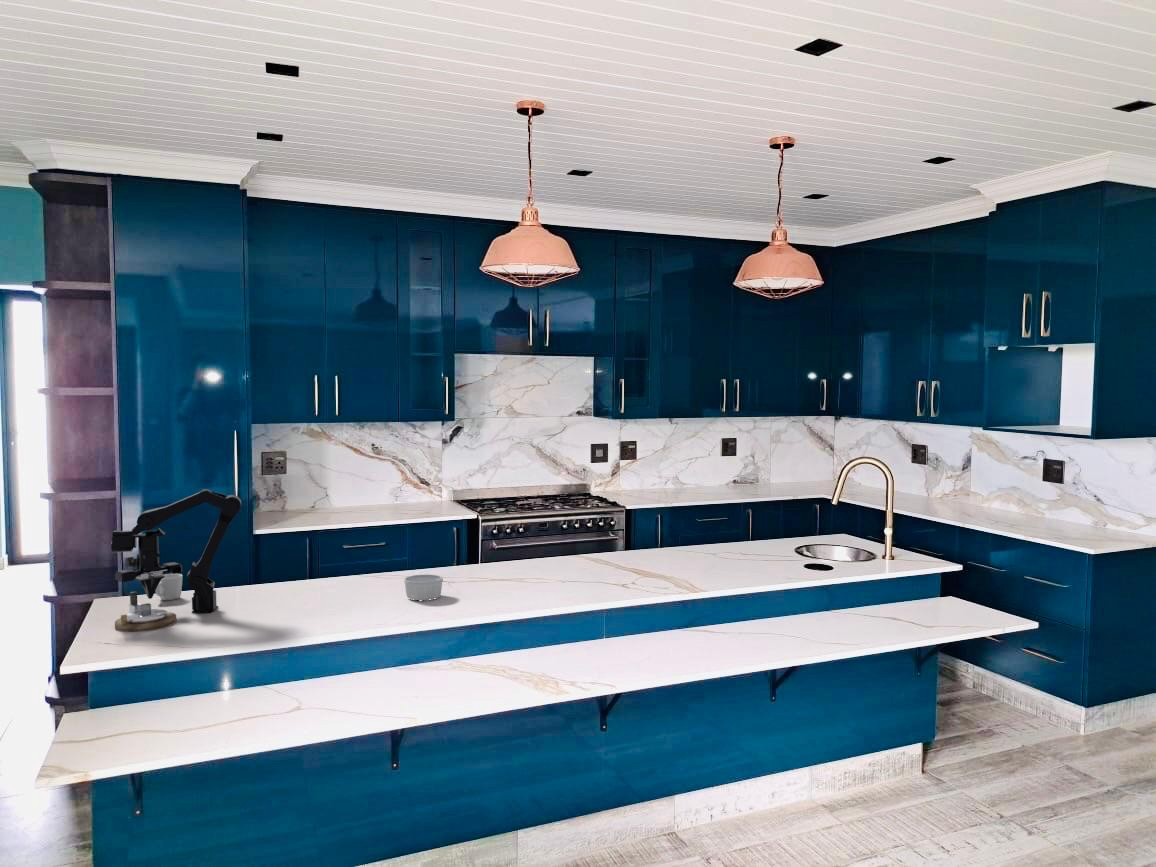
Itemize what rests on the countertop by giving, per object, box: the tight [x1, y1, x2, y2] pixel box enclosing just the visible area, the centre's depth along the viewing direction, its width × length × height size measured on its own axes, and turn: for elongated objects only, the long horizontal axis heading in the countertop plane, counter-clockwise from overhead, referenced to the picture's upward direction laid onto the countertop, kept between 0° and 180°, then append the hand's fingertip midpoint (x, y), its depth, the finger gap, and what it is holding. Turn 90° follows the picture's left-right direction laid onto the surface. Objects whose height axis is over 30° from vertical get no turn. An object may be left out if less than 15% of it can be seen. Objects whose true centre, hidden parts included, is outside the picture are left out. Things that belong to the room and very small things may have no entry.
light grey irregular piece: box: [125, 591, 168, 623], centre depth 262 cm, size 16×12×7 cm
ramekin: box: [403, 573, 444, 600], centre depth 292 cm, size 13×13×7 cm
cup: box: [155, 573, 184, 601], centre depth 290 cm, size 11×8×8 cm
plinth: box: [114, 611, 177, 633], centre depth 261 cm, size 17×17×4 cm
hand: (150, 598), depth 270 cm, fingers closed
